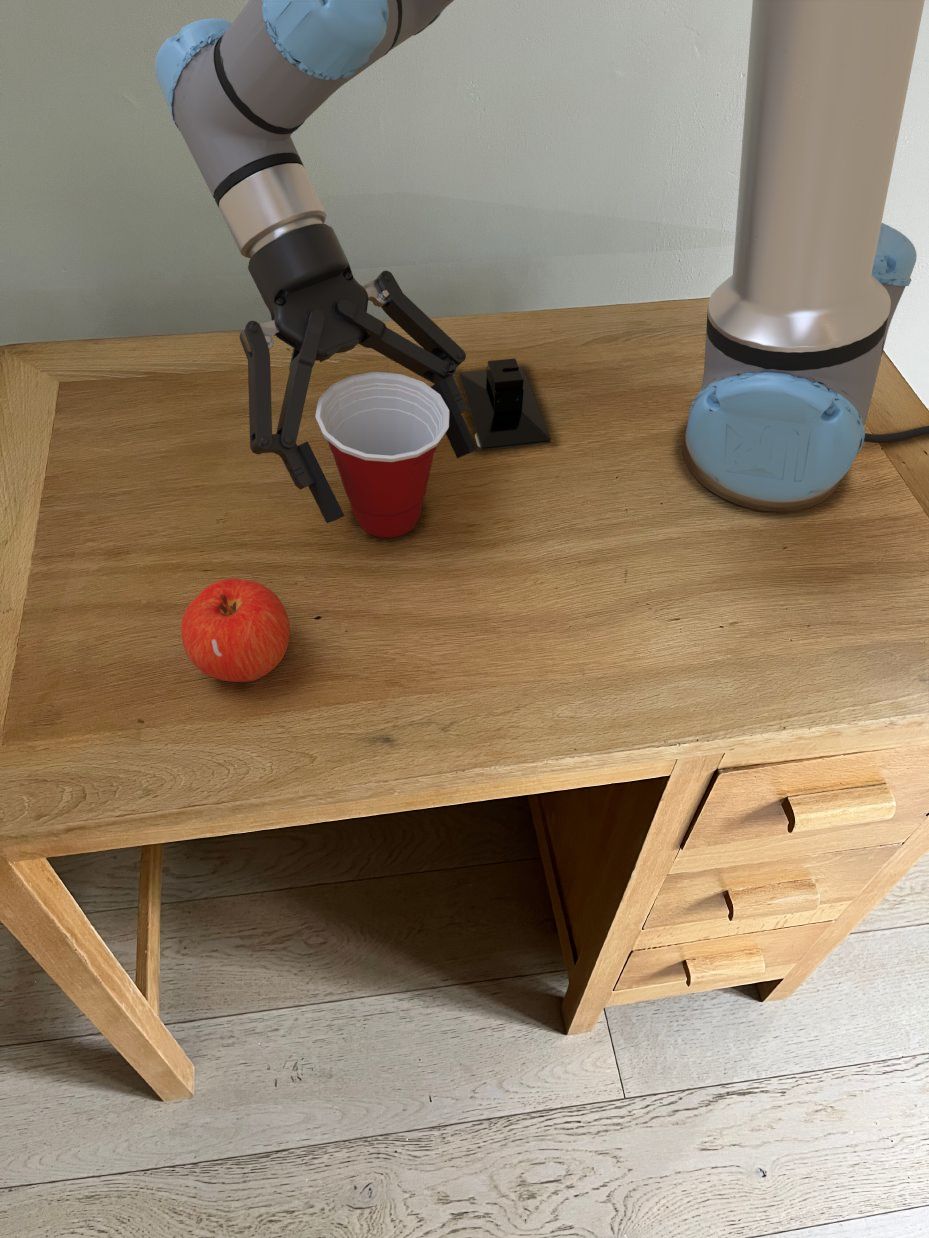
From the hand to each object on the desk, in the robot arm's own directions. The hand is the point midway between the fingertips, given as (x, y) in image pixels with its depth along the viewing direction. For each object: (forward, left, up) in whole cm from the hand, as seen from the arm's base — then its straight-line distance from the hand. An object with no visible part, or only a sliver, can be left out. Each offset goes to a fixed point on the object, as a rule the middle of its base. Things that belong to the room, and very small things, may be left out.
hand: (404, 486), depth 73 cm
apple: (+9, +16, -6) cm, 20 cm away
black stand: (-5, -20, -6) cm, 21 cm away
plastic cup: (+2, -2, -6) cm, 6 cm away
